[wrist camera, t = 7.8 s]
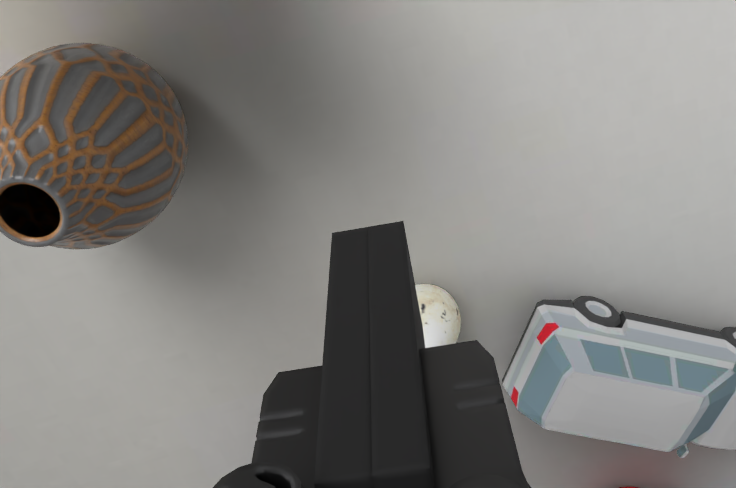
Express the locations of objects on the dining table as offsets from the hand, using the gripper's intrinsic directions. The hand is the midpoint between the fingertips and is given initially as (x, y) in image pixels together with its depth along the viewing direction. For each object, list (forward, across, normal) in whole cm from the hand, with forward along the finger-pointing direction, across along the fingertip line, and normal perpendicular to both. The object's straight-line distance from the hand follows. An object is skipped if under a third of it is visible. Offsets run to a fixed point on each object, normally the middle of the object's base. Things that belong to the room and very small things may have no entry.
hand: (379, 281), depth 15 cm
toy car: (+15, +10, -16) cm, 24 cm away
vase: (+15, -10, +1) cm, 18 cm away
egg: (+15, 0, -11) cm, 18 cm away
